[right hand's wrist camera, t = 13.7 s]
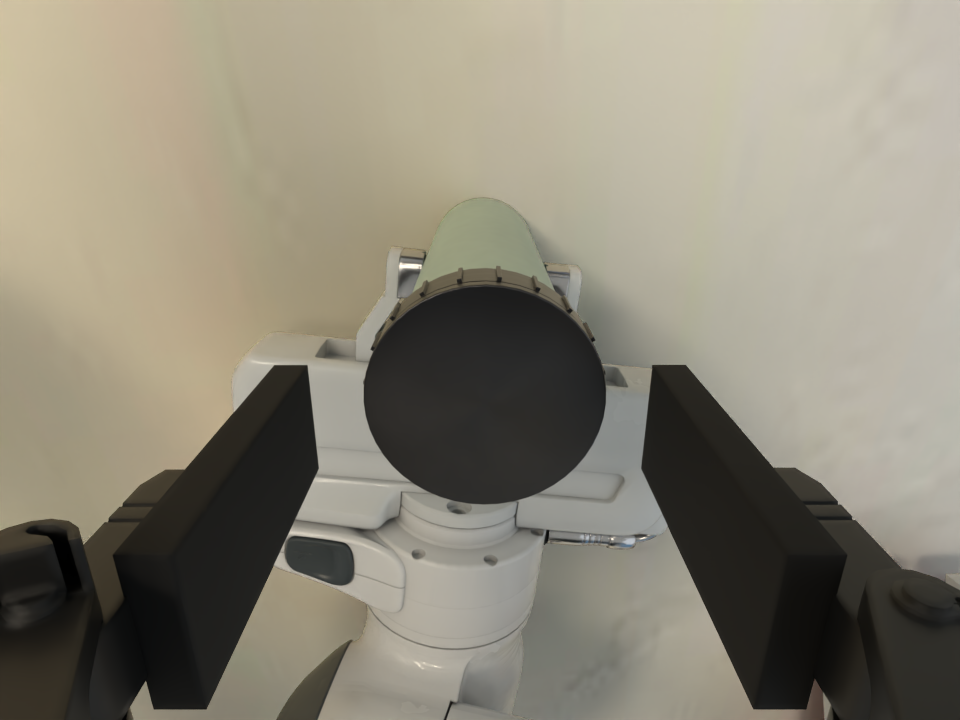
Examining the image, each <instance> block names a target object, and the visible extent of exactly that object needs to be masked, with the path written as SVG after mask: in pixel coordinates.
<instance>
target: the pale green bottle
mask: <svg viewBox="0 0 960 720" xmlns="http://www.w3.org/2000/svg"><path fill="white" fill-rule="evenodd" d="M496 266H501V269H503V270H508V271H513V272H517V273H520V274H523V275H526V276H529V277H531V278H532V276H533V275H534V276H536V277H537V279H538V281H539V282H541V283H543V284H545V285H546V286H548V287H549V288H551V289H552V290H554V288H553V286H552V283H551V281H550V279H549V276H548V274H547V271H546V269H545V267H544V264H543V262H542V260H541V257H540V255H539V252H538V250H537V248H536V245H535V243H534V241H533V238H532V236H531V234H530V231H529V229H528V227H527V224H526V223H525V221H524V219H523V218H522V217H521V215H520V214H519V213H518V212H517V211H516V210H515V209H514V208H512V207H511V206H509V205H508V204H506V203H504V202H502V201H499V200H496V199H491V198H475V199H470V200H467V201H464V202H462V203H460V204H458V205H457V206H455V207H454V208H453V209H451V210H450V211H449V212H448V213H447V214H446V215H445V217H444V218H443V219H442V221H441V223H440V225H439V227H438V229H437V231H436V234H435V236H434V239H433V241H432V244H431V247H430V249H429V252H428V254H427V257H426V259H425V262H424V264H423V267H422V269H421V272H420V274H419V277H418V280H417V282H416V285H415V287H414V290H413V292H414V291H416V290H417V289H419V288H420V287H422V284H423V282H424V281H426V280H427V281H428V282H430V281H432V280H434V279H436V278H438V277H441V276H444V275H447V274H450V273H453V272H456V271H458V268H463V270H467V269H477V268H493V269H496ZM554 291H555V290H554ZM413 292H412V293H413Z"/></svg>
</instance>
